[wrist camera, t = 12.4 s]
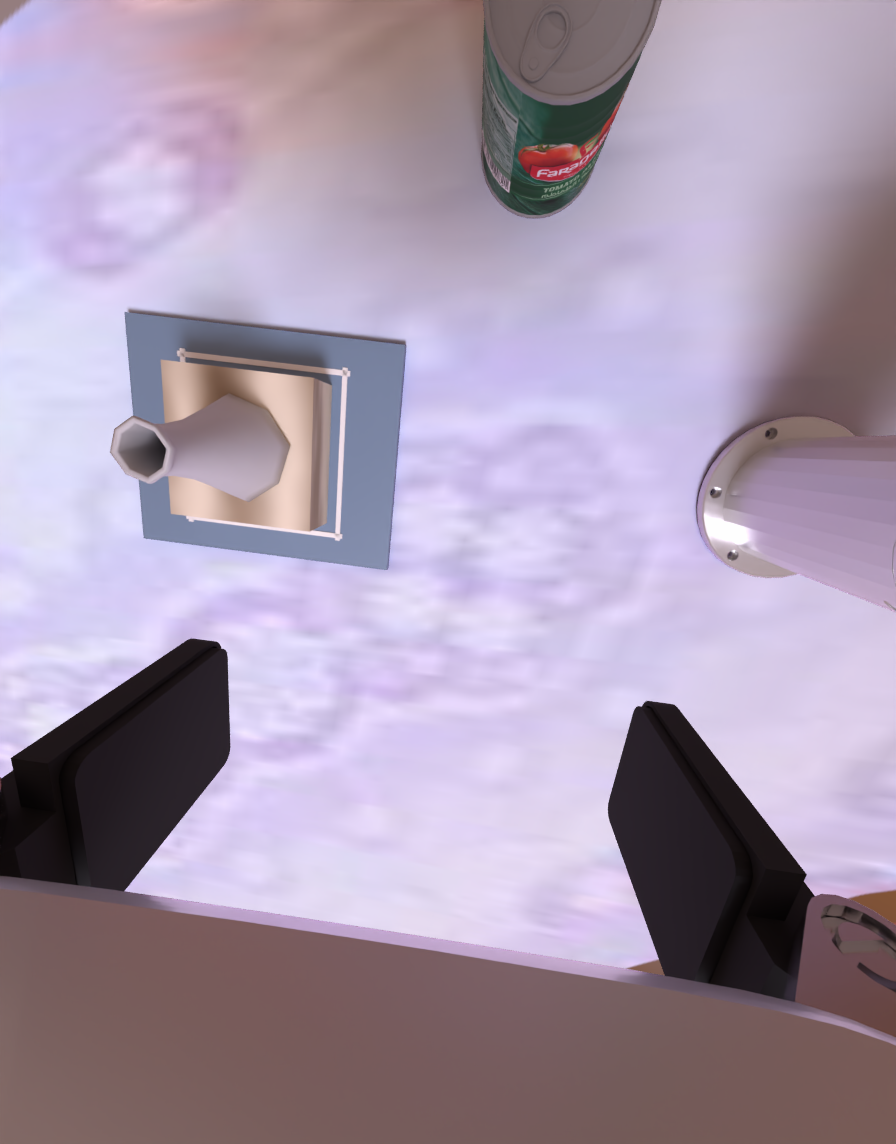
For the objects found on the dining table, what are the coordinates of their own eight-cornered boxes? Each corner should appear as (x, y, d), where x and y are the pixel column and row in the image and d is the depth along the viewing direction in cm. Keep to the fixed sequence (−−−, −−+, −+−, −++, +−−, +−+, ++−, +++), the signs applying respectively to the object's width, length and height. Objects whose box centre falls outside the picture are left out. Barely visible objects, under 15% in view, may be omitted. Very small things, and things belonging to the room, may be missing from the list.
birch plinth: (332, 385, 34) (313, 377, 30) (327, 523, 37) (309, 531, 33) (195, 369, 34) (160, 359, 30) (202, 507, 37) (170, 513, 34)
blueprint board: (406, 346, 33) (404, 344, 33) (388, 568, 38) (386, 570, 38) (130, 314, 34) (123, 311, 33) (148, 536, 39) (143, 538, 38)
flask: (227, 374, 30) (113, 340, 21) (308, 445, 31) (235, 444, 22) (175, 453, 32) (48, 455, 23) (253, 518, 33) (163, 547, 24)
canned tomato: (525, 48, 28) (556, -191, 18) (622, 126, 29) (706, -58, 18) (458, 175, 30) (449, 29, 20) (550, 244, 31) (588, 140, 20)
